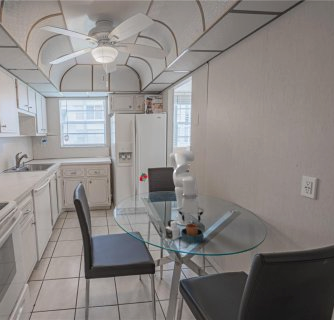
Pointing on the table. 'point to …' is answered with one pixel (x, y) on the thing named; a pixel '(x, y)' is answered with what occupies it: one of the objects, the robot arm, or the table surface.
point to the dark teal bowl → (192, 239)
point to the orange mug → (191, 229)
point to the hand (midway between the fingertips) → (191, 221)
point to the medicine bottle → (172, 230)
